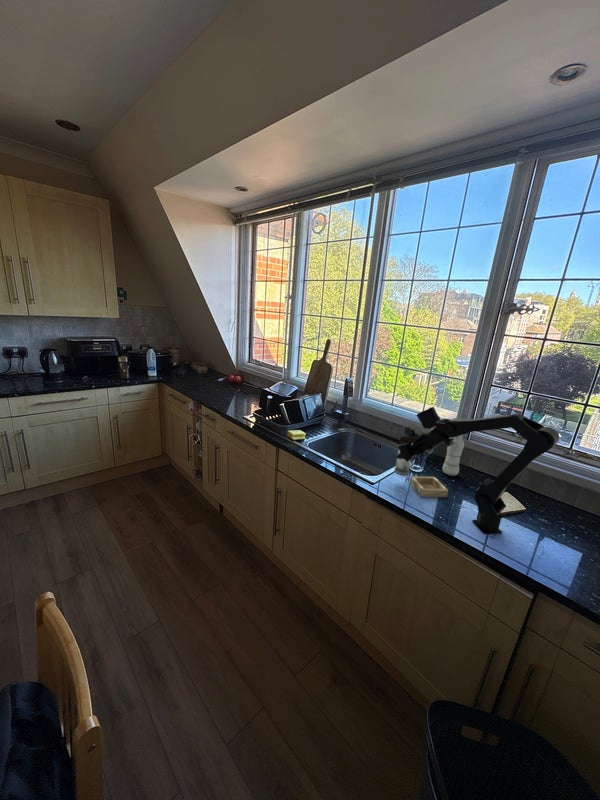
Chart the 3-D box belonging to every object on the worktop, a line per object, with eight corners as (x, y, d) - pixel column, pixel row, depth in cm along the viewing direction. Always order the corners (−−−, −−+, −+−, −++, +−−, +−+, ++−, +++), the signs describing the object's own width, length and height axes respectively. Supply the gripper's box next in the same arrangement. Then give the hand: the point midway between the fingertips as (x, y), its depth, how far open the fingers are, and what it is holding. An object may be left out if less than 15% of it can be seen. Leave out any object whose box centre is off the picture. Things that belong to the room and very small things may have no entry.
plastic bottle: (459, 478, 139) (469, 435, 134) (443, 476, 140) (452, 433, 135) (455, 471, 145) (464, 430, 140) (439, 469, 146) (448, 428, 141)
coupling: (411, 476, 126) (416, 450, 123) (398, 476, 126) (402, 450, 123) (404, 468, 133) (408, 443, 130) (391, 468, 132) (395, 443, 129)
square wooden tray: (446, 497, 124) (448, 490, 123) (421, 497, 123) (422, 490, 122) (433, 483, 134) (434, 476, 133) (409, 482, 132) (410, 476, 132)
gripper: (432, 416, 126) (403, 433, 137) (407, 424, 114) (377, 442, 125) (448, 441, 123) (417, 457, 134) (423, 453, 111) (391, 469, 121)
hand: (401, 455), depth 128 cm, fingers closed on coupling, 5 cm apart
